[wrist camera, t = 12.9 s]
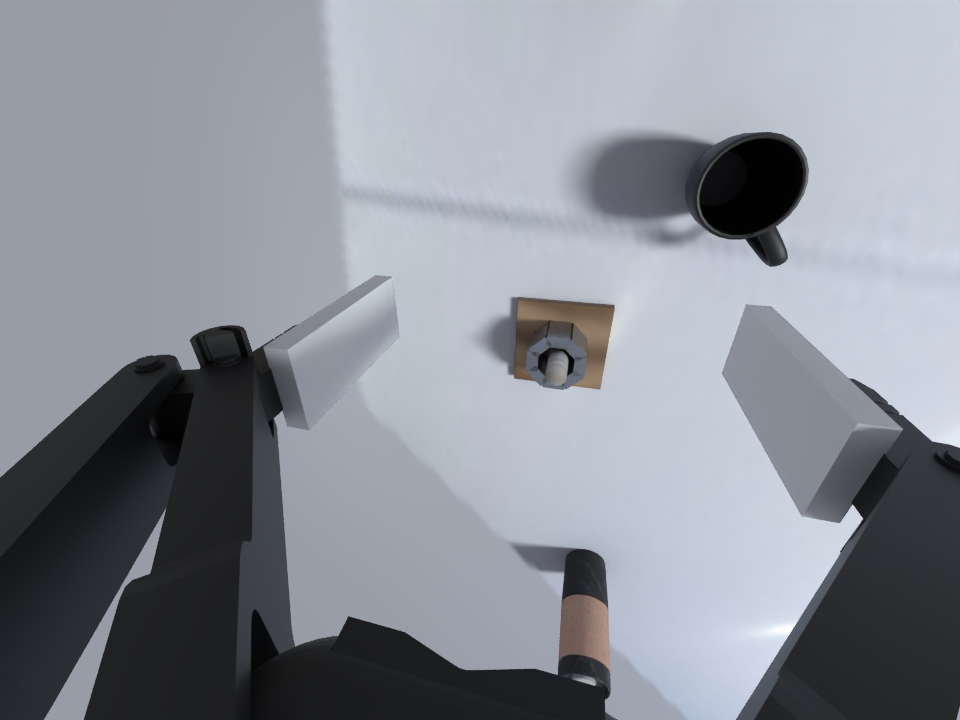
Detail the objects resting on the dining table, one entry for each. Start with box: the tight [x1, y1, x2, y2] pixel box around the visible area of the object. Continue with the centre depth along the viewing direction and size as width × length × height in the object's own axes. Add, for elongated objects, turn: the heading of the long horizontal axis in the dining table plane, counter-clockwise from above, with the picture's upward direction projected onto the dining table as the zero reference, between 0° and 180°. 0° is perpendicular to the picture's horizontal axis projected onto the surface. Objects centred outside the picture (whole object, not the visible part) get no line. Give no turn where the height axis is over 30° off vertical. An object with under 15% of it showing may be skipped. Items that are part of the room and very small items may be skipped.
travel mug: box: [558, 550, 611, 699], centre depth 65 cm, size 8×8×20 cm
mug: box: [685, 132, 809, 267], centre depth 37 cm, size 8×12×10 cm
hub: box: [526, 320, 588, 390], centre depth 51 cm, size 7×7×5 cm
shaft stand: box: [514, 297, 615, 389], centre depth 50 cm, size 12×12×9 cm
